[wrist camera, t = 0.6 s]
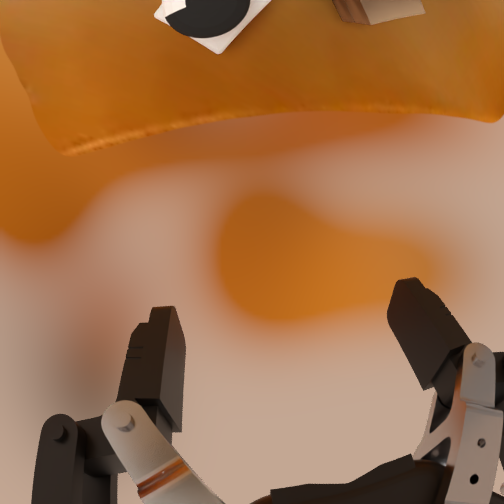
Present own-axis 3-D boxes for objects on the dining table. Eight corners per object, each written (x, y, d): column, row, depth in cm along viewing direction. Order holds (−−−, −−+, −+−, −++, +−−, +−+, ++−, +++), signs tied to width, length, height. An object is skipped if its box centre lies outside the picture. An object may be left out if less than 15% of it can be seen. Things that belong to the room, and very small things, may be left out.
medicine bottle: (267, 2, 21) (282, -8, 13) (224, 48, 25) (213, 64, 17) (212, -33, 18) (195, -59, 10) (170, 15, 22) (131, 17, 14)
